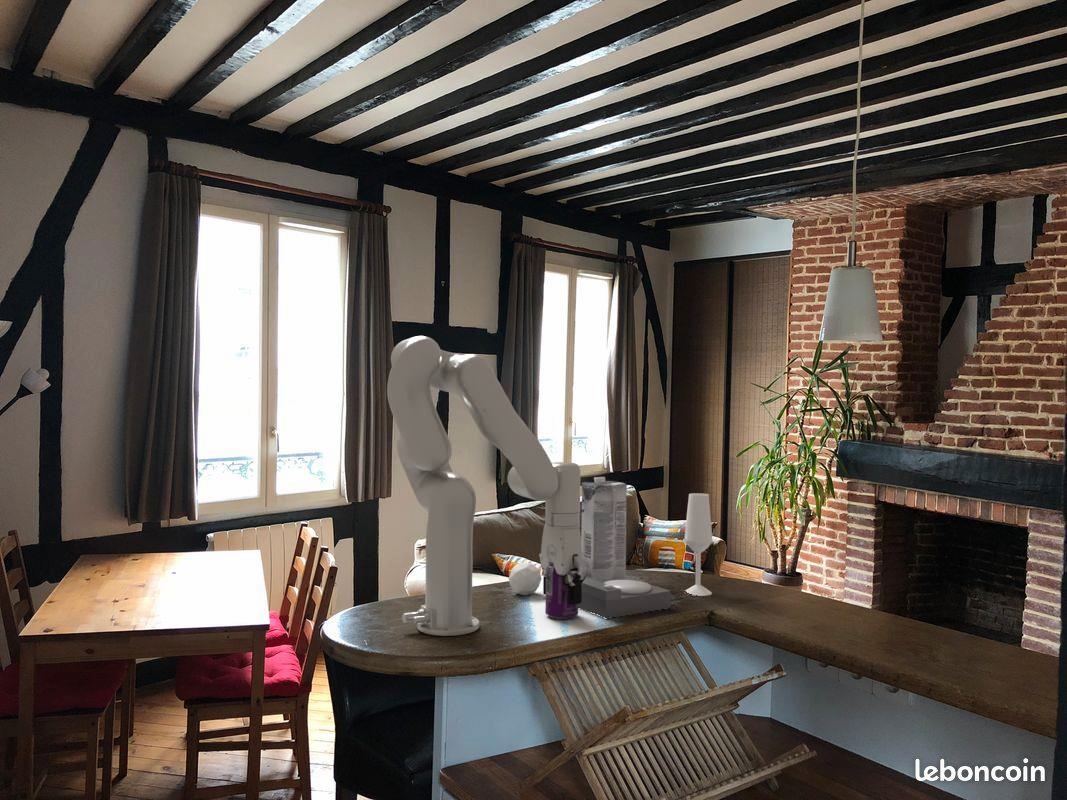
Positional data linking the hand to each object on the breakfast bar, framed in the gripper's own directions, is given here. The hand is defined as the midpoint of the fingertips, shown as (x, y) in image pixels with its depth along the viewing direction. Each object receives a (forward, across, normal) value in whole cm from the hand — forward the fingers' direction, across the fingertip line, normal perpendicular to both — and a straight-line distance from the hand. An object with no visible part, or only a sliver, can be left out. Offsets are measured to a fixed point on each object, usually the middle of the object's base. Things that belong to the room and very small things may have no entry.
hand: (562, 598), depth 172 cm
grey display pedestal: (+4, 0, +16) cm, 16 cm away
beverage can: (+4, 0, 0) cm, 4 cm away
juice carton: (+4, -22, +27) cm, 35 cm away
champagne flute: (+4, -2, +41) cm, 41 cm away
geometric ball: (+4, -21, +3) cm, 22 cm away
